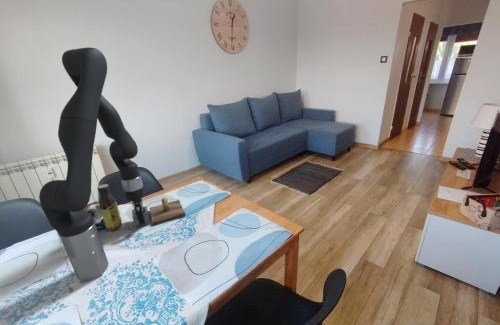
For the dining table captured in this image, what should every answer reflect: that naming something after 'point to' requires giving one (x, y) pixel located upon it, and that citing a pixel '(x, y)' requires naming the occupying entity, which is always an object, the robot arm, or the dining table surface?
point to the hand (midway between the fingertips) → (142, 220)
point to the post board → (166, 211)
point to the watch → (97, 216)
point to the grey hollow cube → (146, 218)
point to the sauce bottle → (109, 208)
